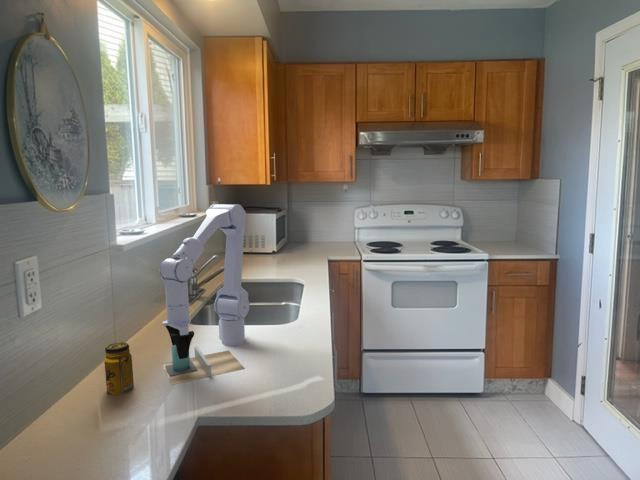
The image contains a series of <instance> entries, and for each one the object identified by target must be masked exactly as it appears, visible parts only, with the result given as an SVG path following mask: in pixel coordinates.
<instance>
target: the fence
mask: <svg viewBox="0 0 640 480" xmlns="http://www.w3.org/2000/svg"><path fill="white" fill-rule="evenodd" d="M204 355H205V354H203V352H202V351H201V350H200V348H199V346H194V357H195V358H196V359H197V361H198V362H199V364H200V365H201V367H202V368H203V370H204V371H205V373H206V374H207V376H208V377H207V378H210V377H212V376H211V365H210V363H209V362H208V360H207V359H206V358H205V356H204ZM209 376H210V377H209Z"/></svg>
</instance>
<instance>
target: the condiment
mask: <svg viewBox="0 0 640 480" xmlns="http://www.w3.org/2000/svg"><path fill="white" fill-rule="evenodd" d="M104 351H105V352H104V353H105V358H104V362H103V363H104V371H105V374H104V375H105V385H106V392H107V394H108V395H114V396H115V395H117V396H118V395H123V394H126V393H128V392H131V391H132V390H134V387H135V385H134V384H135V383H134V370H133V357H132V354H131V353H130V351H131V350H130V345H129V343H127V342H123V341H121V342H114V343H111V344H110V343H109V344H108V345H107V346H105V350H104Z"/></svg>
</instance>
